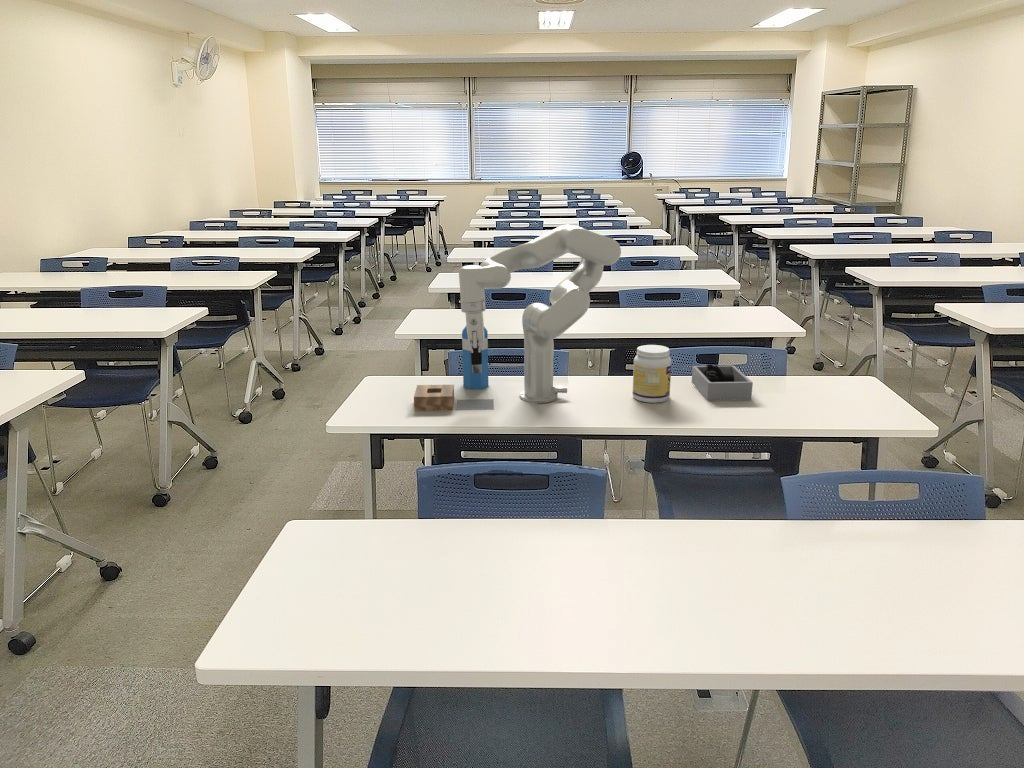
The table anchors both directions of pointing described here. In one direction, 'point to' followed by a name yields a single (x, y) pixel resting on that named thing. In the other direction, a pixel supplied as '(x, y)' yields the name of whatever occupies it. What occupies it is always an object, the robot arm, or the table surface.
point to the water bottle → (469, 377)
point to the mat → (475, 404)
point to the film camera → (717, 374)
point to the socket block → (434, 397)
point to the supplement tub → (652, 374)
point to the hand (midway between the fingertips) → (476, 362)
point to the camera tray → (723, 385)
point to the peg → (477, 366)
